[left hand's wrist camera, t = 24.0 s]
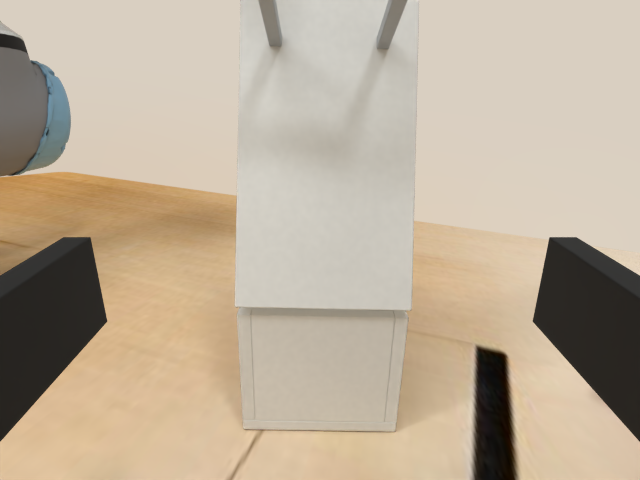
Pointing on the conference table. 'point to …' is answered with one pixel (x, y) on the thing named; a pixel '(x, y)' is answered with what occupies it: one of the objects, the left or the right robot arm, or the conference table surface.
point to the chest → (321, 368)
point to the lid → (326, 154)
